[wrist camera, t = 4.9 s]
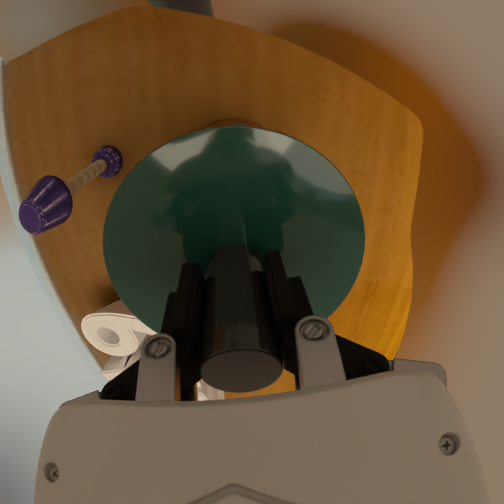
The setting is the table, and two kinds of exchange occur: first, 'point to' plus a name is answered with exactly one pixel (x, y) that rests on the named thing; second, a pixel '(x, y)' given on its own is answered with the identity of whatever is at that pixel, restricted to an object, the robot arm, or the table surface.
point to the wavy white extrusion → (126, 342)
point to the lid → (233, 239)
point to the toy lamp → (64, 192)
